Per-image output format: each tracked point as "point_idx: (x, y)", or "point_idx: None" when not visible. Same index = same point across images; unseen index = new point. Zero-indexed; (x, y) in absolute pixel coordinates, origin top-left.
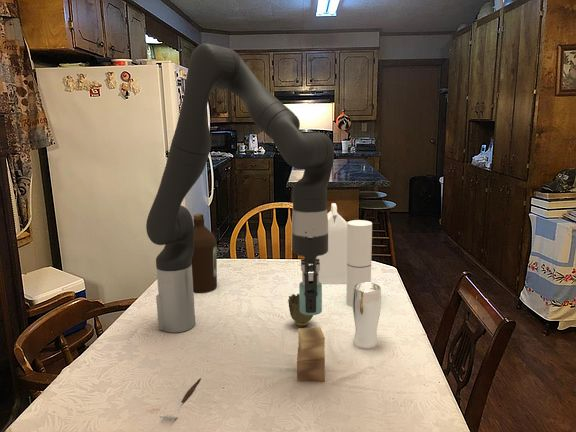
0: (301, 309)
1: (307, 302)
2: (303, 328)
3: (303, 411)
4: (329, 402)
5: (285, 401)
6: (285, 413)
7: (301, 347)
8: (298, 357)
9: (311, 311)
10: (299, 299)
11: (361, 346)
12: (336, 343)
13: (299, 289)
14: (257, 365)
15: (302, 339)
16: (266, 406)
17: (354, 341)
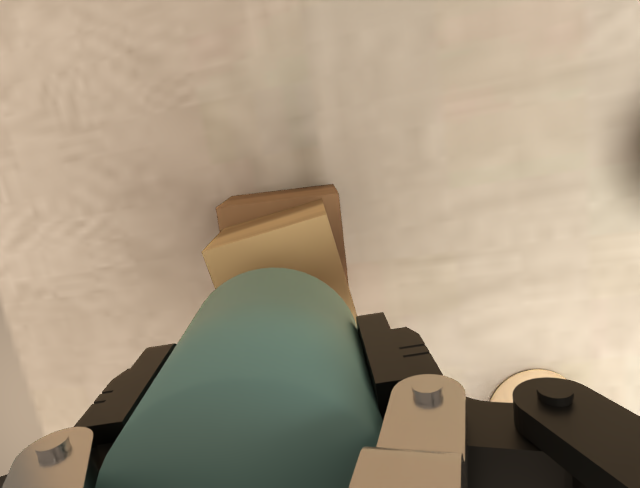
0: (208, 300)
1: (82, 417)
2: (331, 243)
3: (64, 244)
4: (133, 318)
5: (101, 176)
6: (36, 188)
7: (214, 240)
8: (247, 210)
9: None
10: (247, 300)
11: (494, 401)
12: (525, 307)
13: (207, 355)
14: (317, 11)
15: (204, 256)
16: (55, 114)
17: (527, 377)
